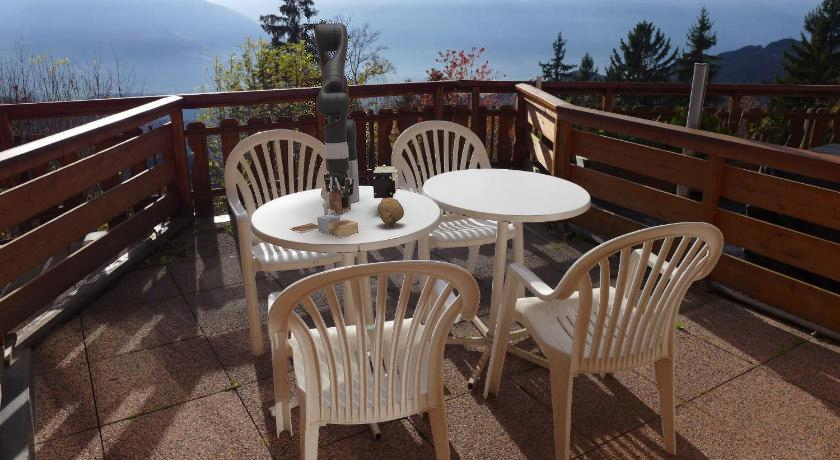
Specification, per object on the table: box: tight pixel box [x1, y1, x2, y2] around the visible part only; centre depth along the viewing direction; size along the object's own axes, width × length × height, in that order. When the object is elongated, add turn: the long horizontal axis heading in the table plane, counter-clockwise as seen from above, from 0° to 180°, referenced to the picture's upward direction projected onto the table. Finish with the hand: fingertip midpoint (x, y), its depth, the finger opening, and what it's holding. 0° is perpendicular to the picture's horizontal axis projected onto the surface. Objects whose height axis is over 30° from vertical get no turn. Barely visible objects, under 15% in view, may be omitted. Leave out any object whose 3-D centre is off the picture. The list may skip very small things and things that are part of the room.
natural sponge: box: [377, 197, 405, 227], centre depth 199 cm, size 9×9×10 cm
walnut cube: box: [329, 190, 352, 213], centre depth 190 cm, size 5×5×6 cm
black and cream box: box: [372, 164, 400, 202], centre depth 218 cm, size 18×8×18 cm, turn 177°
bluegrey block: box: [316, 213, 341, 234], centre depth 196 cm, size 5×5×6 cm
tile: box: [289, 222, 318, 234], centre depth 200 cm, size 7×9×1 cm
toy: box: [320, 183, 350, 216], centre depth 214 cm, size 9×19×15 cm, turn 161°
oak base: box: [328, 218, 359, 238], centre depth 192 cm, size 7×7×4 cm
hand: (340, 206), depth 191 cm, fingers closed on walnut cube, 5 cm apart
